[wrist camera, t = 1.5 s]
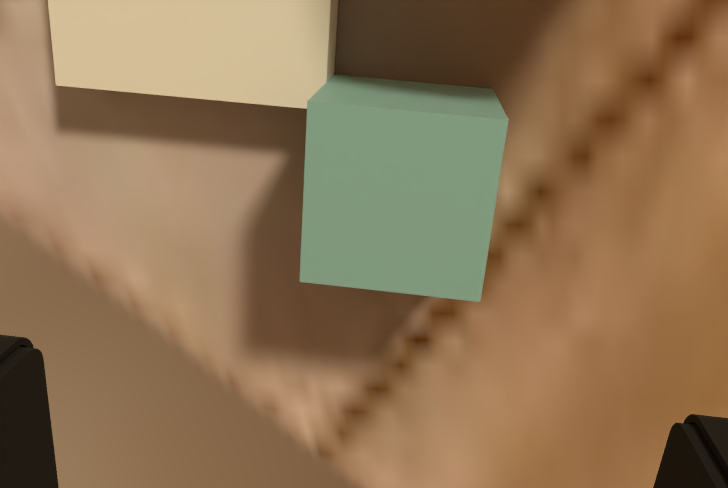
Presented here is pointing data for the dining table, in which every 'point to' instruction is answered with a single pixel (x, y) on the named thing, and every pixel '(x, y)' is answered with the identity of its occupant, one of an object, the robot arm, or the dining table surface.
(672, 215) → the dining table surface
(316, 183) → the block
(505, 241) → the dining table surface
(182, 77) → the coaster
